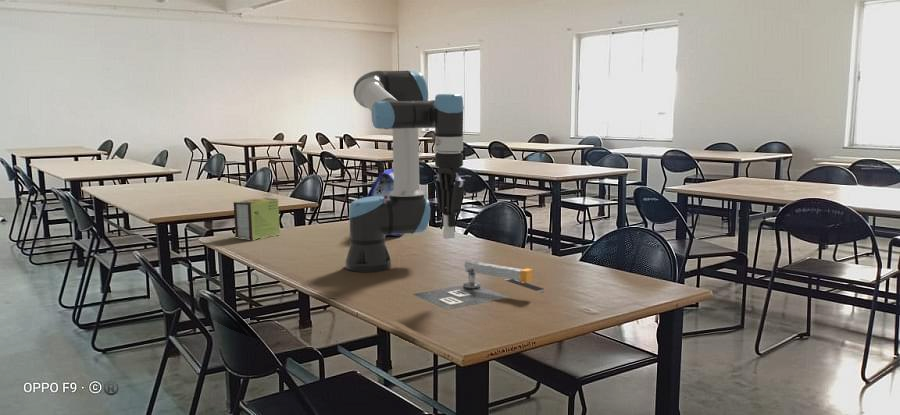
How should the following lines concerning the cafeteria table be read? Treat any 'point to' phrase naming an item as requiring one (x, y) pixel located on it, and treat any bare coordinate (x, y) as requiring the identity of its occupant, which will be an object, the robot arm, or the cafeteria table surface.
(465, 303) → the board
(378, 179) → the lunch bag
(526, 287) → the smartphone
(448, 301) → the label
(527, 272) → the swing arm
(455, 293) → the label
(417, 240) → the cafeteria table surface
